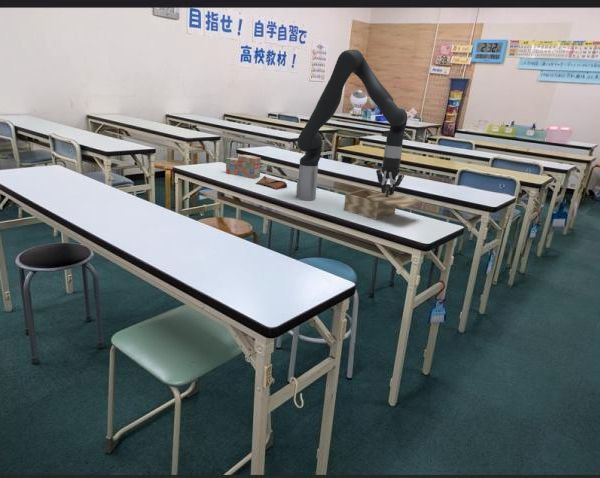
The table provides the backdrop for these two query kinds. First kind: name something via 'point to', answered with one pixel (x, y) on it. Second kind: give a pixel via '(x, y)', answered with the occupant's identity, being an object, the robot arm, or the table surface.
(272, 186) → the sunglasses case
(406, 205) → the box lid
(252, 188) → the table surface
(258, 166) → the stack of blocks
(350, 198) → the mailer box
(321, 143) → the robot arm
